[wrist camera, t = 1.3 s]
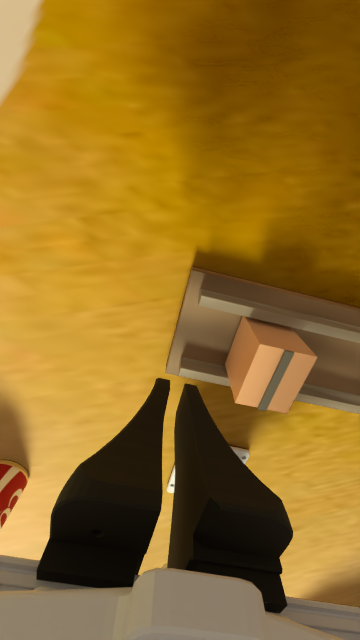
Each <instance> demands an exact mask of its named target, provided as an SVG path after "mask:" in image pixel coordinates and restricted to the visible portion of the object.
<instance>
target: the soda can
mask: <svg viewBox="0 0 360 640" xmlns="http://www.w3.org/2000/svg"><path fill="white" fill-rule="evenodd" d="M27 482H28V473H27V471H26V470H25V469H24V468H23V467H22V466H21V465H19V464H18V463H15V462H12V461H8V460H0V530H1V528H2V526H3V524H4V523H5V521H6V519H7V517H8V516H9V514H10V512H11V511H12V509H13V507H14V505H15V504H16V502H17V500H18V499H19V497H20V495H21V493H22V492H23V490H24V488H25V487H26V485H27Z"/></svg>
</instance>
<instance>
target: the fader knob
mask: <svg viewBox="0 0 360 640" xmlns="http://www.w3.org/2000/svg"><path fill="white" fill-rule="evenodd" d="M316 359H317V356H316V355H315V354H314V353H313V351H312V350H311V349H310V348H309V347H308V346H307V345H306V344H305V343H304V342H303V341H302V339H301V338H300V337H299V336H298V335H297V334H296V333H295V332H294V331H293V330H292V329H291V327H288V326H284V325H280V324H275V323H271V322H267V321H263V320H258V319H254V318H250V317H246V316H243V317H242V319H241V322H240V325H239V327H238V330H237V333H236V335H235V338H234V341H233V343H232V346H231V349H230V352H229V354H228V357H227V360H226V362H225V367H226V371H227V374H228V378H229V382H230V386H231V390H232V393H233V397H234V401H235V403H238V404H242V405H247V406H252V407H257V408H258V410H263V411H266V410H272V411H276V412H281V413H286V414H287V413H288V411H289V409H290V407H291V405H292V404H293V402H294V400H295V398H296V396H297V394H298V392H299V391H300V389H301V387H302V385H303V383H304V381H305V380H306V378H307V376H308V374H309V372H310V370H311V368H312V367H313V365H314V363H315V361H316Z"/></svg>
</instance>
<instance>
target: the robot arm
mask: <svg viewBox="0 0 360 640" xmlns="http://www.w3.org/2000/svg"><path fill="white" fill-rule="evenodd" d="M169 391H170V380H166V379H161V378H158V379H156V382H155V385H154V387H153V389H152V391H151V393H150V395H149V396H148V398H147V400H146V401H145V403H144V404H143V406H142V407H141V408H140V410H139V411H138V412H137V414H136V415H135V416H134V417H133V419H132V420H131V421H130V422H129V423H128V424H127V425H126V426H125V427H124V428H123V429H122V431H121V432H120V433H119V434H118V435H116V436H115V437H114V438H113V439H112V440H111V441H110V442H109V443H107V444H106V445H105V446H104V447H103V448H101V449H100V450H99V451H98V452H96V453H95V454H94V455H92V456H91V457H90V458H88V459H87V460H85V461H84V462H83V463H81V464H80V465H79V466H78V467H77V469H76V470H75V471H74V473H73V474H72V475H71V477H70V478H69V480H68V481H67V483H66V484H65V486H64V487H63V489H62V491H61V493H60V495H59V497H58V499H57V501H56V503H55V506H54V508H53V510H52V514H51V524H50V539H49V541H48V543H47V546H46V548H45V551H44V553H43V555H42V558H41V560H40V561H38V560H31V559H24V558H17V557H10V556H4V555H0V640H360V607H354V606H348V605H341V604H334V603H327V602H320V601H313V600H306V599H299V598H293V597H286V596H285V593H284V590H283V586H282V582H281V578H280V574H281V573H282V566H281V562H280V559H279V557H280V556H281V554H282V553H283V552H284V550H285V549H286V548H287V546H288V545H289V543H290V541H291V539H292V538H293V530H292V527H291V524H290V521H289V518H288V515H287V512H286V510H285V508H284V505H283V503H282V500H281V499H280V498H279V497H278V496H277V495H275V494H274V493H273V492H272V491H271V490H270V489H269V488H268V487H267V486H265V485H264V484H263V483H262V482H261V481H260V480H259V479H258V478H257V477H256V476H255V475H254V474H253V473H252V472H251V471H250V470H249V469H248V467H247V466H246V465H245V463H246V461H247V459H248V457H249V455H250V453H249V451H248V450H247V449H242V448H237V447H232V446H229V444H228V443H227V442H226V440H225V439H224V437H223V436H222V434H221V433H220V431H219V430H218V428H217V426H216V425H215V423H214V421H213V419H212V418H211V416H210V414H209V412H208V410H207V408H206V406H205V404H204V402H203V400H202V397H201V395H200V393H199V390H198V388H197V386H195V385H190V384H185V385H184V388H183V392H182V395H181V398H180V402H179V405H178V408H177V411H176V419H175V430H174V438H175V465H174V468H173V471H172V473H171V476H170V479H169V482H168V485H167V491H168V492H170V493H174V499H173V512H172V523H171V534H170V544H169V555H168V564H164V565H163V567H162V568H155V569H152V570H149V571H145V572H144V573H143V574H142V575H138V572H139V569H140V566H141V564H142V561H143V558H144V555H145V554H146V552H147V549H148V546H149V543H150V541H151V538H152V535H153V532H154V529H155V526H156V523H157V520H158V517H159V515H160V512H161V504H162V438H163V421H164V414H165V410H166V405H167V400H168V396H169Z"/></svg>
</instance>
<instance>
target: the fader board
mask: <svg viewBox="0 0 360 640" xmlns="http://www.w3.org/2000/svg"><path fill="white" fill-rule="evenodd" d="M243 316H246V317H250V318H254V319H258V320H263V321H267V322H271V323H275V324H280V325H284V326H288V327H291V329H292V330H293V331H294V332H295V333H296V334H297V335H298V336H299V337H300V338H301V339H302V341H303V342H304V343H305V344H306V345H307V346H308V347H309V348H310V349H311V350H312V351H313V353H314V354H315V355H316V356H317V359H316V361H315V363H314V365H313V367H312V368H311V370H310V372H309V374H308V376H307V378H306V380H305V381H304V383H303V385H302V387H301V389H300V391H299V392H298V394H297V396H296V398H295V400H296V401H300V402H305V403H310V404H315V405H319V406H324V407H329V408H334V409H338V410H343V411H348V412H353V413H357V414H360V308H358V307H354V306H350V305H346V304H342V303H338V302H334V301H330V300H326V299H322V298H318V297H314V296H310V295H306V294H302V293H297V292H293V291H289V290H285V289H281V288H277V287H273V286H269V285H265V284H261V283H257V282H253V281H249V280H245V279H241V278H237V277H233V276H228V275H224V274H220V273H216V272H212V271H208V270H204V269H200V268H196V267H192V268H191V272H190V275H189V279H188V283H187V287H186V291H185V295H184V299H183V302H182V306H181V310H180V314H179V318H178V322H177V326H176V329H175V333H174V337H173V341H172V345H171V349H170V353H169V356H168V360H167V364H166V372H165V373H167V374H172V375H177V376H181V377H186V378H191V379H196V380H200V381H205V382H210V383H215V384H220V385H224V386H229V387H231V386H230V382H229V378H228V374H227V371H226V367H225V362H226V360H227V357H228V354H229V352H230V349H231V346H232V343H233V341H234V338H235V335H236V333H237V330H238V327H239V325H240V322H241V319H242V317H243Z"/></svg>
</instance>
